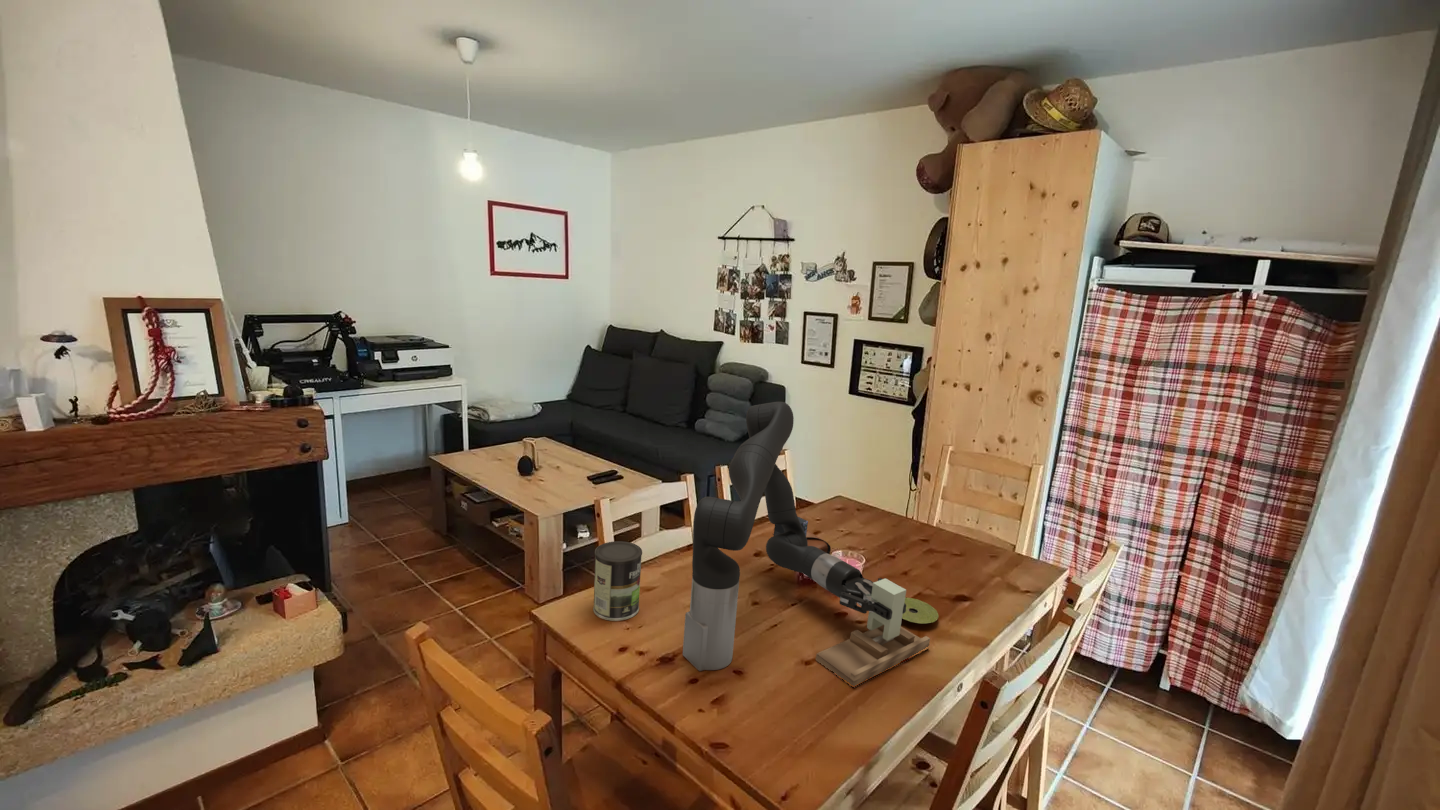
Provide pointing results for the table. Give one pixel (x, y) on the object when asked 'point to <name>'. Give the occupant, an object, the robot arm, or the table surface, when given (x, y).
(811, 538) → the sunglasses case
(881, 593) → the clip
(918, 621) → the green washer
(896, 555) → the table surface
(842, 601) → the robot arm
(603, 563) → the coffee can
